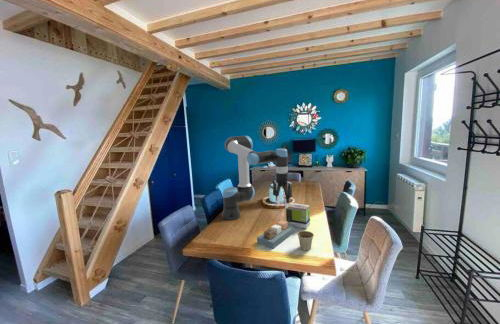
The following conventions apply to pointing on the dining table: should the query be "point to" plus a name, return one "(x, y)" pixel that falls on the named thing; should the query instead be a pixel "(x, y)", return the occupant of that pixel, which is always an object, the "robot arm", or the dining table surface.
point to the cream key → (276, 229)
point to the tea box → (298, 215)
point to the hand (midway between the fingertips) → (282, 206)
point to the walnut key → (269, 234)
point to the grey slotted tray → (275, 238)
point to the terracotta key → (283, 224)
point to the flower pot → (305, 239)
